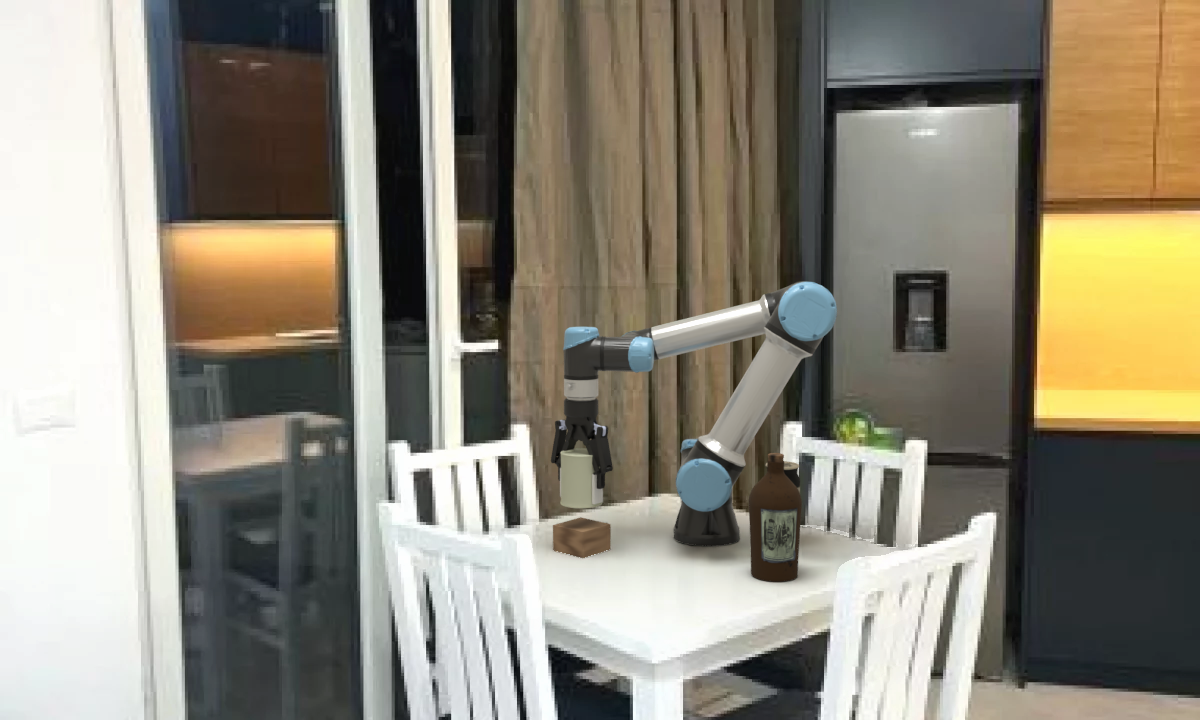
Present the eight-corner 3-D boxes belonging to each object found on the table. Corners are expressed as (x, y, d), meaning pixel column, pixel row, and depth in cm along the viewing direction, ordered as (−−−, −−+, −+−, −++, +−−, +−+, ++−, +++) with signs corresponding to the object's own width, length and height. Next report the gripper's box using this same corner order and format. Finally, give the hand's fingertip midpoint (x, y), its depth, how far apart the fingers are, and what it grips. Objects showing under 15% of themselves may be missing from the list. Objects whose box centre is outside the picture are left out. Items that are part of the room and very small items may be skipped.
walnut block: (610, 550, 237) (610, 524, 237) (583, 559, 231) (582, 532, 230) (580, 543, 243) (580, 517, 243) (553, 551, 237) (552, 525, 236)
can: (559, 499, 240) (559, 446, 239) (600, 498, 241) (600, 445, 240) (561, 509, 231) (561, 454, 230) (604, 508, 232) (604, 453, 230)
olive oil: (743, 567, 223) (744, 449, 221) (794, 567, 224) (796, 449, 221) (753, 583, 213) (754, 459, 210) (806, 582, 213) (808, 459, 211)
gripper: (533, 395, 238) (534, 494, 240) (607, 404, 224) (606, 510, 226) (557, 391, 243) (557, 489, 246) (630, 400, 229) (629, 504, 231)
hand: (581, 499), depth 236 cm, fingers closed on can, 9 cm apart
